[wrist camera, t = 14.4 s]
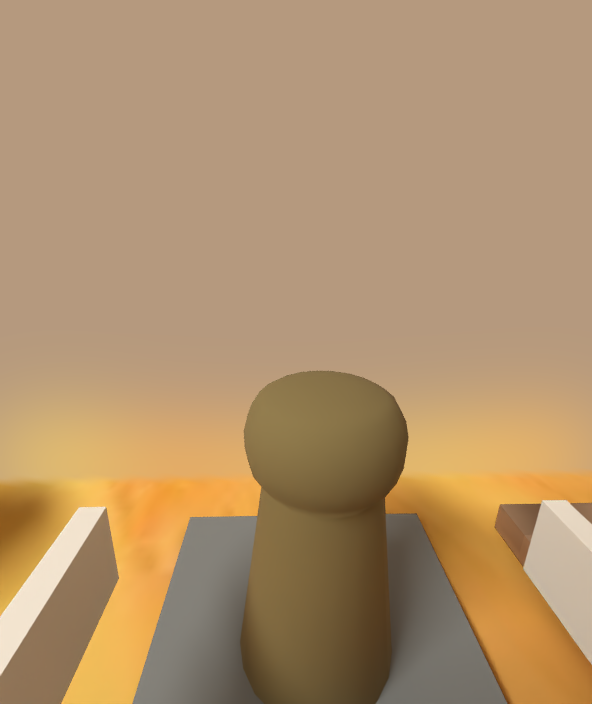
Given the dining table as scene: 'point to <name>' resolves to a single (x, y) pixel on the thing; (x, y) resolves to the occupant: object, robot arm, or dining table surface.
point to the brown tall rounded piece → (321, 539)
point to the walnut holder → (525, 524)
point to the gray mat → (228, 611)
